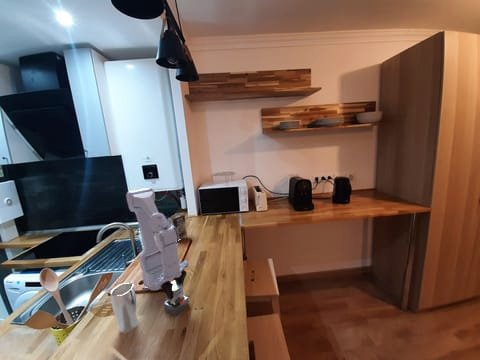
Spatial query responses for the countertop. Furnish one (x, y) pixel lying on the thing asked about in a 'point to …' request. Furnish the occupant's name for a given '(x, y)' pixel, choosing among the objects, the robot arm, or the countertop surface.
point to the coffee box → (179, 224)
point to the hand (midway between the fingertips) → (175, 294)
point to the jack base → (177, 309)
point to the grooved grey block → (176, 294)
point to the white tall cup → (124, 306)
